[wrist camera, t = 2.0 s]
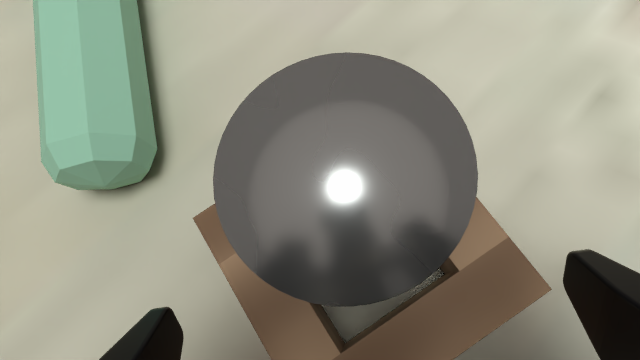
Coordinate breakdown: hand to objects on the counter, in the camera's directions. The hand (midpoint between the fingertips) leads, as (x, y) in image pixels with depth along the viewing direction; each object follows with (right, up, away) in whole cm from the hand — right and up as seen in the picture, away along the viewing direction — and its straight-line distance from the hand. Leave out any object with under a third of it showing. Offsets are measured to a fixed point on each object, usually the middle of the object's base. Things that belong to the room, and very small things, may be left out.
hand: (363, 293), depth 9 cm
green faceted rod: (-14, +13, +16) cm, 25 cm away
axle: (+1, -1, +9) cm, 10 cm away
